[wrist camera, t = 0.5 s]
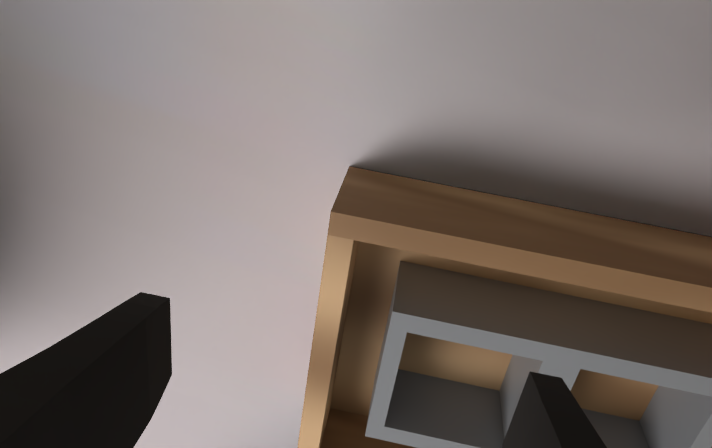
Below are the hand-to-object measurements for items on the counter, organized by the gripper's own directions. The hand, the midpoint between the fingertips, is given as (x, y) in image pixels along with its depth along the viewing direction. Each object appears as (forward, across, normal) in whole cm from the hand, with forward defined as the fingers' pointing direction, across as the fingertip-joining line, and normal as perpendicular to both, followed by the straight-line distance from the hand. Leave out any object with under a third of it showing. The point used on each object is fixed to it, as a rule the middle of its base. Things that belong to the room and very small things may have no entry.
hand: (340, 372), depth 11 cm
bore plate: (+10, -7, +6) cm, 13 cm away
